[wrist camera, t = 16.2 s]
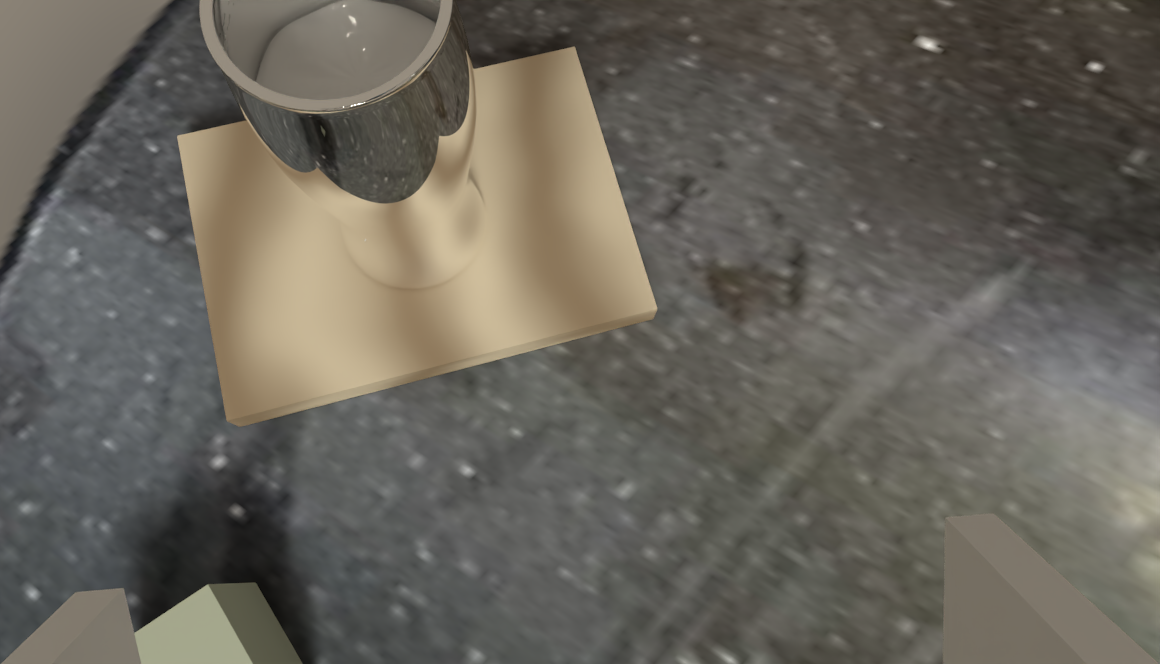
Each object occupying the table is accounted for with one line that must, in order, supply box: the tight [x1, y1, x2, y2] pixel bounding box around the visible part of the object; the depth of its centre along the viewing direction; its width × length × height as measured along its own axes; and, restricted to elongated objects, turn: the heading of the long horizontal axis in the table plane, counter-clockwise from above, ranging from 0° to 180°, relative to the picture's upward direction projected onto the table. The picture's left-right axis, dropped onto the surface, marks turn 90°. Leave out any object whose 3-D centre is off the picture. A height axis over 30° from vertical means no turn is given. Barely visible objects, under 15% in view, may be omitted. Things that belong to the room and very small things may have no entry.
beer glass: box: [199, 0, 486, 289], centre depth 30 cm, size 7×7×15 cm
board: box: [177, 47, 657, 427], centre depth 38 cm, size 18×13×2 cm
